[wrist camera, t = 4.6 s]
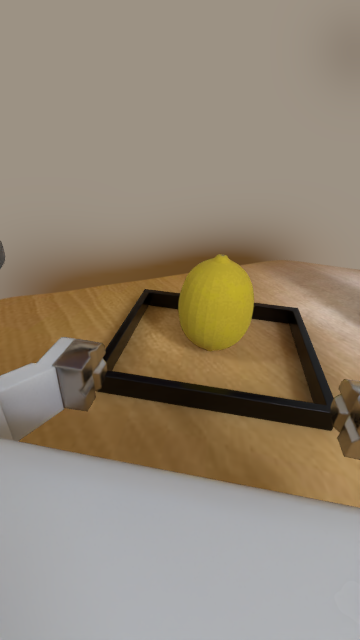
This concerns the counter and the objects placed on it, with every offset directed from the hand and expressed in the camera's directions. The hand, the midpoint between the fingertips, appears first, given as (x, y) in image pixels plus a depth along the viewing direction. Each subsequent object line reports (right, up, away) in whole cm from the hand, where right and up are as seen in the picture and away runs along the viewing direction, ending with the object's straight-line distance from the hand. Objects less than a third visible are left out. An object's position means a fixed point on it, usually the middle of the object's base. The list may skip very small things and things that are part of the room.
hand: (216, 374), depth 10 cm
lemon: (+1, -1, +14) cm, 14 cm away
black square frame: (+1, -1, +14) cm, 14 cm away
